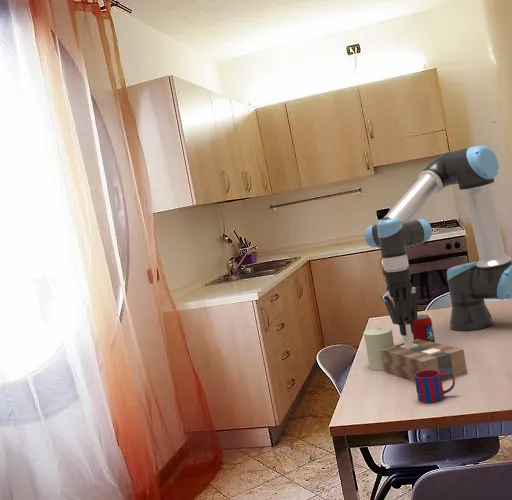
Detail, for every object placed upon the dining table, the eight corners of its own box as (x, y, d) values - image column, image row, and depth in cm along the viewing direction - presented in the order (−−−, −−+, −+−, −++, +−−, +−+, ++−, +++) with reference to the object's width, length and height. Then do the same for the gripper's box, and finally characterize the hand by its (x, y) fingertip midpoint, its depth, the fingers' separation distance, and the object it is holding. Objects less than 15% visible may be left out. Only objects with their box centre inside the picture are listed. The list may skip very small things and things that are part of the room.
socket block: (384, 371, 194) (380, 349, 194) (421, 360, 199) (417, 338, 198) (426, 385, 173) (422, 361, 173) (467, 372, 178) (463, 349, 178)
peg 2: (436, 371, 184) (432, 348, 183) (445, 373, 180) (441, 350, 179) (425, 374, 182) (421, 351, 182) (433, 377, 178) (429, 353, 178)
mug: (418, 395, 167) (413, 371, 167) (456, 392, 165) (452, 367, 164) (418, 404, 161) (414, 378, 160) (458, 400, 158) (454, 374, 158)
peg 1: (414, 364, 194) (410, 342, 193) (422, 366, 190) (418, 344, 190) (403, 367, 192) (400, 346, 192) (411, 370, 189) (407, 347, 188)
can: (399, 360, 203) (393, 324, 202) (396, 368, 195) (389, 331, 194) (371, 362, 206) (365, 327, 206) (367, 371, 198) (360, 334, 197)
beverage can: (437, 352, 204) (431, 317, 203) (416, 355, 205) (410, 320, 204) (435, 347, 210) (429, 313, 210) (415, 349, 212) (409, 315, 211)
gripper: (407, 265, 195) (419, 338, 197) (371, 273, 190) (384, 348, 192) (421, 265, 188) (433, 341, 189) (385, 274, 183) (398, 351, 185)
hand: (408, 344), depth 191 cm, fingers closed
